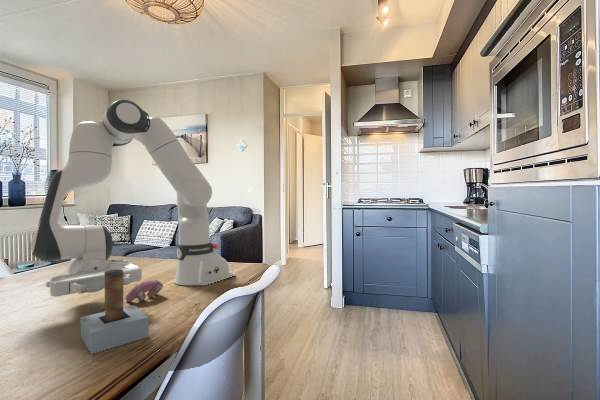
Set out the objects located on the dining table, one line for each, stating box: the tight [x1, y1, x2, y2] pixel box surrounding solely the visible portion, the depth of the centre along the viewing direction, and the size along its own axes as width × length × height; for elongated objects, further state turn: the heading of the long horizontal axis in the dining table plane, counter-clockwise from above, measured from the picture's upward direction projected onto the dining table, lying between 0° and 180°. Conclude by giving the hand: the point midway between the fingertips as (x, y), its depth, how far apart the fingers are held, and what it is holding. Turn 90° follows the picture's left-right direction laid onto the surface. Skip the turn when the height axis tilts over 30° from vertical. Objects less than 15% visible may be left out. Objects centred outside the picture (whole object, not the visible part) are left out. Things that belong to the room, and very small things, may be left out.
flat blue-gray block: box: [80, 304, 150, 355], centre depth 69 cm, size 11×11×4 cm
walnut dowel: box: [104, 269, 124, 324], centre depth 69 cm, size 4×4×15 cm
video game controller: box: [125, 279, 164, 303], centre depth 95 cm, size 10×5×7 cm, turn 149°
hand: (105, 285), depth 75 cm, fingers open, 8 cm apart
